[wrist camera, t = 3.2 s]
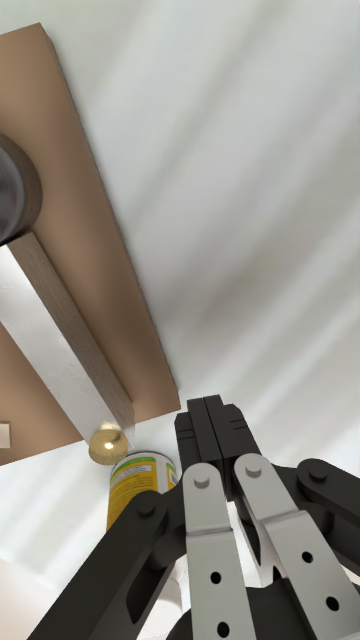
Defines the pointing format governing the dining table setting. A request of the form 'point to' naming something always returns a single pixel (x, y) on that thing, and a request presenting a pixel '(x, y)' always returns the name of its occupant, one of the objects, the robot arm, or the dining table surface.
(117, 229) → the walnut stand
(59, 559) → the dining table surface
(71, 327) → the bar
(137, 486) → the supplement bottle
